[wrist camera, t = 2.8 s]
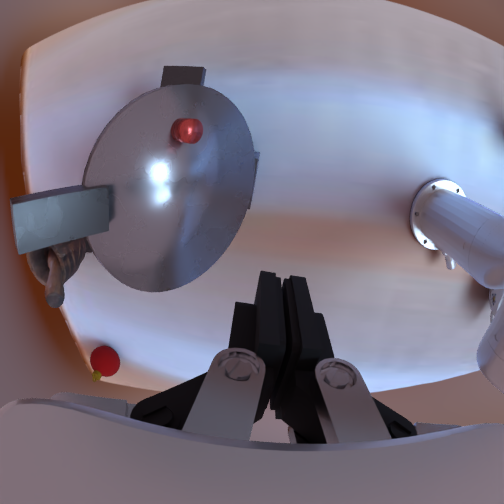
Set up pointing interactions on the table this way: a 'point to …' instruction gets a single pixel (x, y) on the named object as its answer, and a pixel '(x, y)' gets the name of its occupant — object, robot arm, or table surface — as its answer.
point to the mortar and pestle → (57, 266)
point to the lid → (153, 190)
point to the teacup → (495, 300)
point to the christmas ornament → (104, 362)
